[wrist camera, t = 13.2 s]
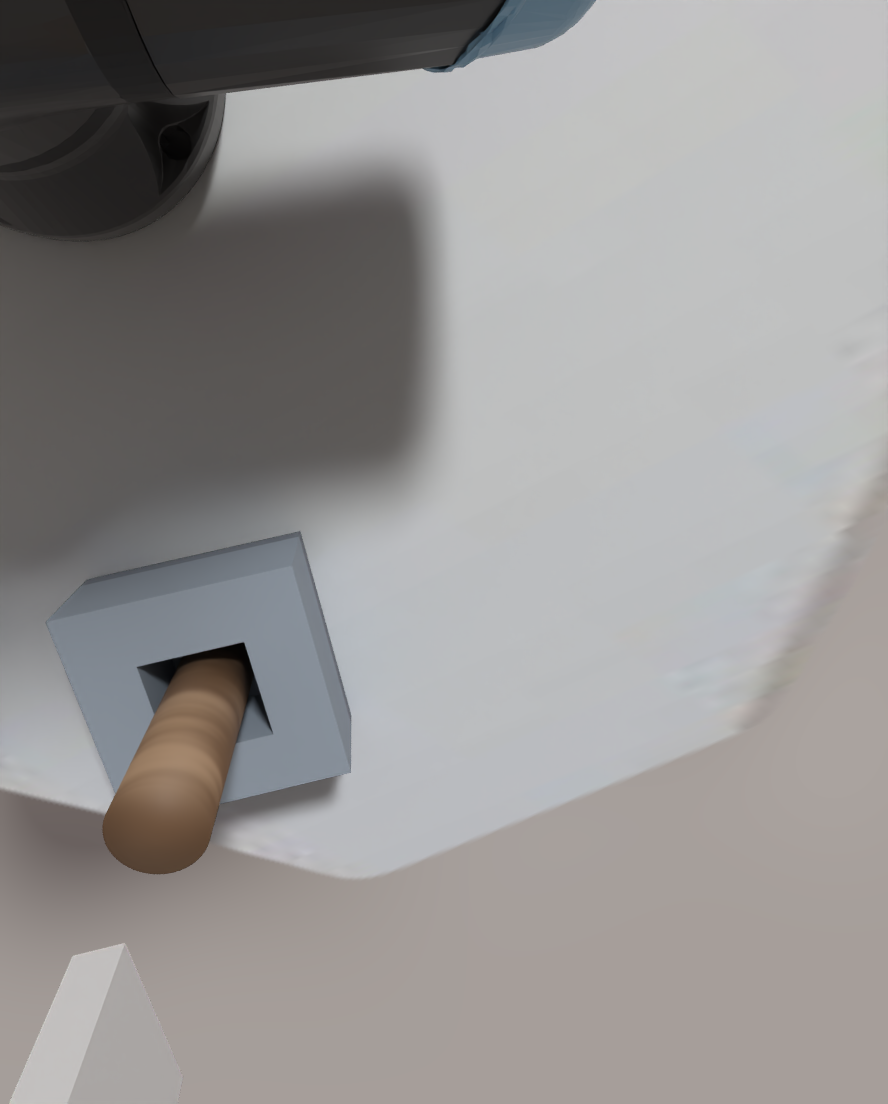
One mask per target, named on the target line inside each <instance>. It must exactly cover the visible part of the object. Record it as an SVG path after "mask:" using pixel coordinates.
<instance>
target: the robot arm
mask: <svg viewBox="0 0 888 1104" xmlns="http://www.w3.org/2000/svg"><path fill="white" fill-rule="evenodd" d="M595 1H596V0H0V225H1V226H4V227H7V228H9V229H13V230H16V231H19V232H23V233H27V234H32V235H36V236H41V237H45V238H50V239H56V240H64V241H96V240H103V239H109V238H114V237H118V236H122V235H125V234H128V233H131V232H134V231H136V230H138V229H140V228H143V227H145V226H147V225H148V224H150V223H152V222H154V221H156V220H157V219H159V218H160V217H162V216H163V215H164V214H166V213H167V212H168V211H170V210H171V209H172V208H173V207H174V206H175V205H177V204H178V203H179V202H180V201H181V200H182V199H183V198H184V196H185V195H186V194H187V193H188V192H189V191H190V190H191V188H192V187H193V186H194V184H195V183H196V182H197V180H198V179H199V177H200V176H201V174H202V172H203V171H204V169H205V167H206V165H207V163H208V161H209V159H210V157H211V155H212V152H213V150H214V147H215V144H216V141H217V139H218V135H219V131H220V128H221V123H222V118H223V113H224V105H225V93H230V92H238V91H246V90H254V89H262V88H270V87H278V86H286V85H294V84H302V83H310V82H318V81H326V80H334V79H342V78H350V77H358V76H366V75H374V74H382V73H390V72H398V71H406V70H414V69H424V70H426V71H430V72H434V73H436V72H451V71H452V70H453V69H454V68H457V67H465V66H466V65H468V64H469V63H471V62H472V61H474V60H475V59H478V58H484V57H489V56H494V55H500V54H505V53H511V52H516V51H522V50H527V49H532V48H537V47H539V46H542V45H544V44H546V43H548V42H550V41H552V40H553V39H555V38H557V37H559V36H561V35H563V34H564V33H565V32H566V31H567V30H569V29H570V28H571V27H573V26H574V25H575V24H576V23H577V22H578V21H579V20H580V19H581V18H582V17H583V16H584V15H585V13H586V12H587V11H588V10H589V9H590V7H591V6H592V5H593V4H594V2H595ZM182 1081H183V1075H182V1073H181V1070H180V1068H179V1066H178V1064H177V1061H176V1059H175V1057H174V1054H173V1052H172V1050H171V1048H170V1045H169V1043H168V1041H167V1038H166V1036H165V1034H164V1031H163V1029H162V1027H161V1024H160V1022H159V1020H158V1018H157V1015H156V1013H155V1011H154V1008H153V1006H152V1004H151V1001H150V999H149V997H148V994H147V992H146V990H145V988H144V985H143V983H142V981H141V978H140V976H139V974H138V971H137V970H136V967H135V965H134V962H133V960H132V958H131V955H130V953H129V951H128V948H127V946H126V944H125V943H123V944H119V945H115V946H111V947H107V948H103V949H99V950H94V951H90V952H87V953H82V954H79V955H74V956H72V959H71V961H70V963H69V966H68V968H67V970H66V973H65V975H64V977H63V980H62V982H61V984H60V987H59V989H58V991H57V994H56V996H55V998H54V1000H53V1003H52V1005H51V1007H50V1010H49V1012H48V1014H47V1017H46V1019H45V1021H44V1023H43V1026H42V1028H41V1030H40V1033H39V1035H38V1038H37V1040H36V1042H35V1044H34V1047H33V1049H32V1051H31V1054H30V1056H29V1058H28V1060H27V1063H26V1065H25V1067H24V1070H23V1072H22V1074H21V1077H20V1079H19V1081H18V1084H17V1086H16V1088H15V1090H14V1093H13V1095H12V1097H11V1100H10V1102H9V1104H177V1103H178V1099H179V1094H180V1090H181V1085H182Z"/></svg>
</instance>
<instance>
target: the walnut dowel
mask: <svg viewBox="0 0 888 1104" xmlns="http://www.w3.org/2000/svg"><path fill="white" fill-rule="evenodd" d="M253 677H254V671H253V668H252V665H251V662H250V659H249V656H248V652H247V649H246V646H245V643H244V642H242V643H237V644H233V645H229V646H224V647H220V648H216V649H211V650H207V651H203V652H199V653H194V654H190V655H186V656H183V657H182V659H181V661H180V663H179V665H178V667H177V669H176V671H175V673H174V675H173V677H172V679H171V681H170V683H169V686H168V688H167V690H166V692H165V694H164V696H163V698H162V700H161V702H160V704H159V706H158V708H157V710H156V712H155V714H154V716H153V718H152V720H151V722H150V724H149V727H148V729H147V731H146V733H145V735H144V737H143V739H142V741H141V743H140V745H139V747H138V749H137V751H136V753H135V755H134V757H133V759H132V761H131V763H130V766H129V768H128V770H127V772H126V774H125V776H124V778H123V780H122V782H121V784H120V786H119V788H118V790H117V792H116V794H115V796H114V798H113V800H112V802H111V805H110V807H109V809H108V811H107V813H106V815H105V818H104V821H103V837H104V840H105V844H106V846H107V847H108V849H109V851H110V852H111V854H112V855H113V856H114V857H115V858H116V859H117V860H118V861H120V862H121V863H122V864H124V865H126V866H127V867H129V868H131V869H133V870H136V871H139V872H143V873H149V874H167V873H173V872H176V871H180V870H182V869H184V868H186V867H188V866H190V865H192V864H193V863H194V862H196V861H197V860H198V859H199V858H200V857H201V856H202V854H203V853H204V852H205V850H206V848H207V846H208V844H209V841H210V837H211V834H212V830H213V826H214V822H215V819H216V815H217V811H218V808H219V804H220V800H221V796H222V793H223V789H224V785H225V781H226V778H227V774H228V770H229V767H230V763H231V759H232V755H233V752H234V748H235V744H236V741H237V737H238V733H239V729H240V726H241V722H242V718H243V715H244V711H245V707H246V703H247V700H248V696H249V692H250V689H251V685H252V681H253Z"/></svg>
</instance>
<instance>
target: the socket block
mask: <svg viewBox="0 0 888 1104" xmlns="http://www.w3.org/2000/svg"><path fill="white" fill-rule="evenodd" d="M46 624H47V627H48V629H49V632H50V634H51V637H52V639H53V642H54V644H55V647H56V649H57V652H58V654H59V656H60V659H61V661H62V664H63V666H64V669H65V671H66V674H67V676H68V679H69V681H70V683H71V686H72V688H73V691H74V693H75V696H76V698H77V701H78V703H79V706H80V708H81V711H82V713H83V715H84V718H85V720H86V723H87V725H88V728H89V730H90V733H91V735H92V738H93V740H94V743H95V745H96V747H97V750H98V752H99V755H100V757H101V760H102V762H103V765H104V767H105V770H106V772H107V774H108V777H109V779H110V782H111V784H112V787H113V789H114V792H115V794H116V792H117V790H118V788H119V786H120V784H121V782H122V780H123V778H124V776H125V774H126V772H127V770H128V768H129V766H130V763H131V761H132V759H133V757H134V755H135V753H136V751H137V749H138V747H139V745H140V743H141V741H142V739H143V737H144V735H145V733H146V731H147V729H148V727H149V724H150V722H151V720H152V718H153V716H154V714H155V712H156V710H157V708H158V706H159V704H160V702H161V700H162V698H163V696H164V694H165V692H166V690H167V688H168V686H169V683H170V681H171V679H172V677H173V675H174V673H175V671H176V669H177V667H178V665H179V663H180V661H181V659H182V657H183V656H186V655H190V654H194V653H199V652H203V651H207V650H211V649H216V648H220V647H224V646H229V645H233V644H237V643H242V642H244V643H245V646H246V649H247V652H248V656H249V659H250V662H251V665H252V668H253V671H254V677H253V681H252V685H251V689H250V692H249V696H248V700H247V703H246V707H245V711H244V715H243V718H242V722H241V726H240V729H239V733H238V737H237V741H236V744H235V748H234V752H233V755H232V759H231V763H230V767H229V770H228V774H227V778H226V781H225V785H224V789H223V793H222V796H221V800H220V804H222V803H226V802H230V801H234V800H239V799H243V798H247V797H251V796H255V795H259V794H263V793H268V792H272V791H276V790H280V789H284V788H288V787H293V786H297V785H301V784H305V783H309V782H313V781H318V780H322V779H326V778H330V777H334V776H338V775H343V774H347V773H351V713H350V709H349V706H348V702H347V698H346V695H345V691H344V688H343V684H342V680H341V677H340V673H339V669H338V666H337V662H336V659H335V655H334V651H333V648H332V644H331V641H330V637H329V633H328V630H327V626H326V623H325V619H324V615H323V612H322V608H321V604H320V601H319V597H318V594H317V590H316V586H315V583H314V579H313V576H312V572H311V568H310V565H309V561H308V558H307V554H306V550H305V547H304V543H303V539H302V536H301V532H295V533H291V534H286V535H282V536H278V537H273V538H269V539H264V540H260V541H255V542H251V543H247V544H242V545H238V546H233V547H229V548H225V549H220V550H216V551H211V552H207V553H203V554H198V555H194V556H189V557H185V558H180V559H176V560H172V561H167V562H163V563H158V564H154V565H150V566H145V567H141V568H136V569H132V570H128V571H123V572H119V573H114V574H110V575H105V576H101V577H97V578H92V579H88V580H86V581H85V582H84V583H83V584H82V585H81V586H80V587H79V588H78V589H77V590H76V591H75V592H74V593H73V594H72V595H71V596H70V598H69V599H68V600H67V601H66V602H65V603H64V604H63V605H62V606H61V607H60V608H59V609H58V610H57V611H56V612H55V613H54V614H53V615H52V616H51V617H50V618H49V619H48V620H47V621H46Z"/></svg>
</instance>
